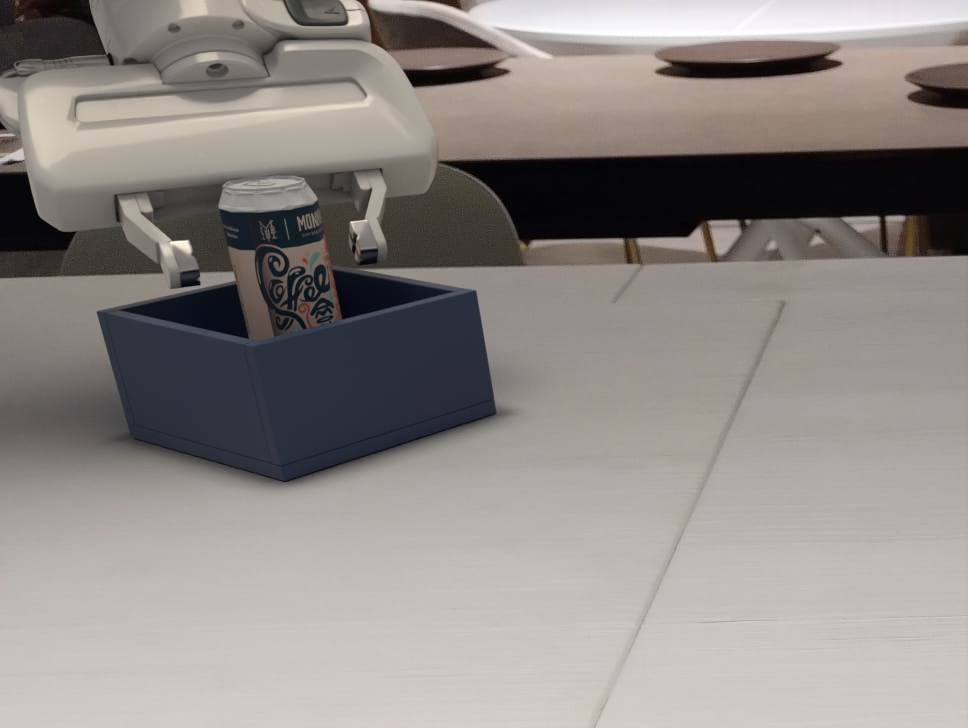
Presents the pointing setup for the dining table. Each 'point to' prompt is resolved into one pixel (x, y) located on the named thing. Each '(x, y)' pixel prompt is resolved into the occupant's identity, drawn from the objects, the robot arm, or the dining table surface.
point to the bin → (300, 373)
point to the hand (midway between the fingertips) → (281, 269)
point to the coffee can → (278, 255)
